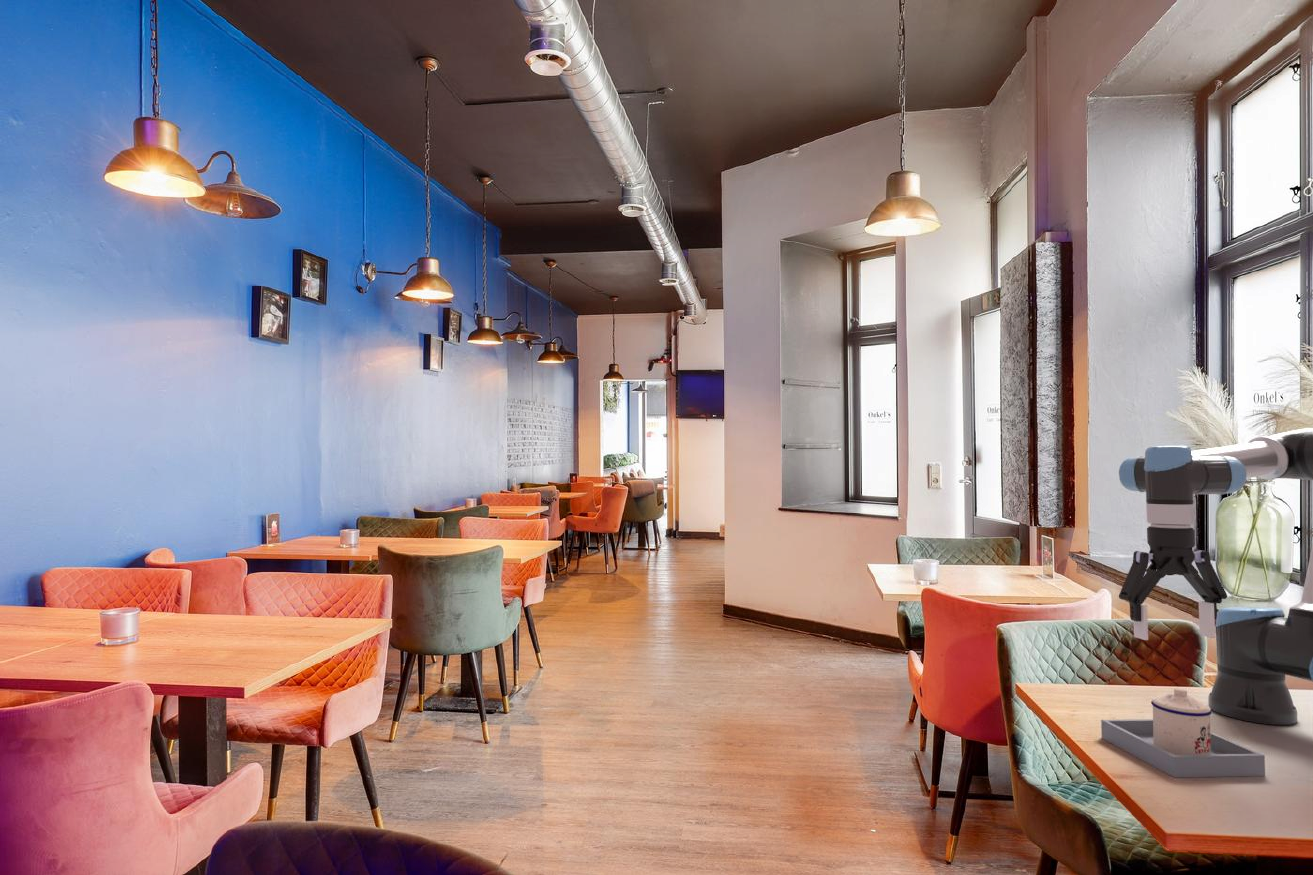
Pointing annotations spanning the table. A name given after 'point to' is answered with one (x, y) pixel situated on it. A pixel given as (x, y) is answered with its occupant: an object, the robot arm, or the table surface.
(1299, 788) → the table surface
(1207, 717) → the teacup with lid
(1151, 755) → the tray
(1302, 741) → the table surface
